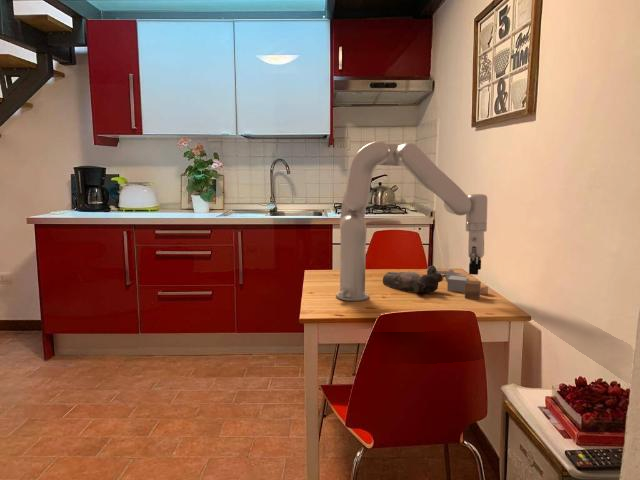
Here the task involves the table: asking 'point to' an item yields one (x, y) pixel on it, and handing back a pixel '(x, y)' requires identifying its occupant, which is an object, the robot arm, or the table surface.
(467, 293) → the brown metal block
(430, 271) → the headphones
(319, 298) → the table surface
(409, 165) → the robot arm
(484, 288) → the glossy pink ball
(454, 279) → the grey block
